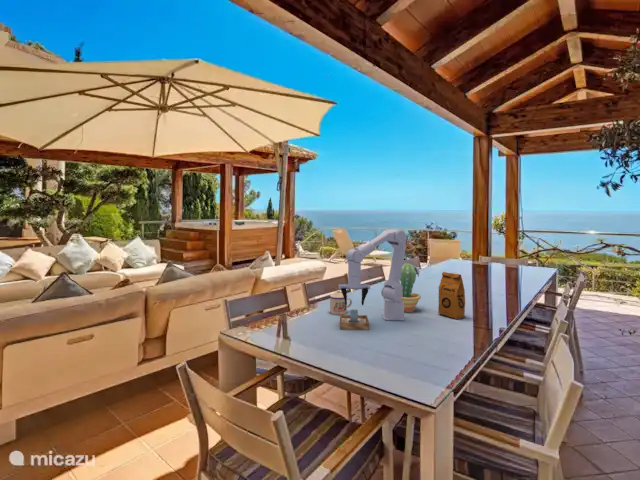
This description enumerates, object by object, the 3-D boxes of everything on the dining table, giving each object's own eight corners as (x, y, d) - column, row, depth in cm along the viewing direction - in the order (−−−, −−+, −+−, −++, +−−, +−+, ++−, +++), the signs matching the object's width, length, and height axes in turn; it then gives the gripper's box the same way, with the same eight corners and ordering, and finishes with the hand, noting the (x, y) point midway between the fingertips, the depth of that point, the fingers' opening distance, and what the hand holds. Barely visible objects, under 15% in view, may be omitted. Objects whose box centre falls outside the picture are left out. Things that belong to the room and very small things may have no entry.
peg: (357, 324, 173) (357, 309, 173) (357, 326, 170) (357, 311, 169) (350, 323, 173) (350, 309, 173) (350, 326, 170) (350, 311, 169)
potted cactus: (420, 314, 190) (421, 266, 188) (390, 312, 194) (390, 265, 192) (420, 307, 205) (421, 262, 203) (392, 305, 209) (393, 261, 207)
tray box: (367, 321, 178) (367, 315, 177) (369, 329, 165) (369, 323, 164) (339, 320, 178) (340, 314, 178) (339, 329, 165) (339, 322, 165)
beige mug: (332, 315, 187) (333, 293, 186) (327, 311, 196) (327, 289, 195) (354, 313, 191) (355, 291, 190) (348, 309, 199) (348, 288, 198)
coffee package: (454, 320, 179) (456, 275, 178) (435, 314, 190) (436, 272, 188) (468, 317, 184) (469, 274, 183) (448, 311, 195) (449, 270, 193)
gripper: (369, 274, 174) (368, 302, 175) (338, 273, 174) (338, 302, 175) (371, 276, 167) (370, 306, 168) (339, 276, 167) (338, 306, 168)
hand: (354, 304), depth 171 cm, fingers open, 7 cm apart
